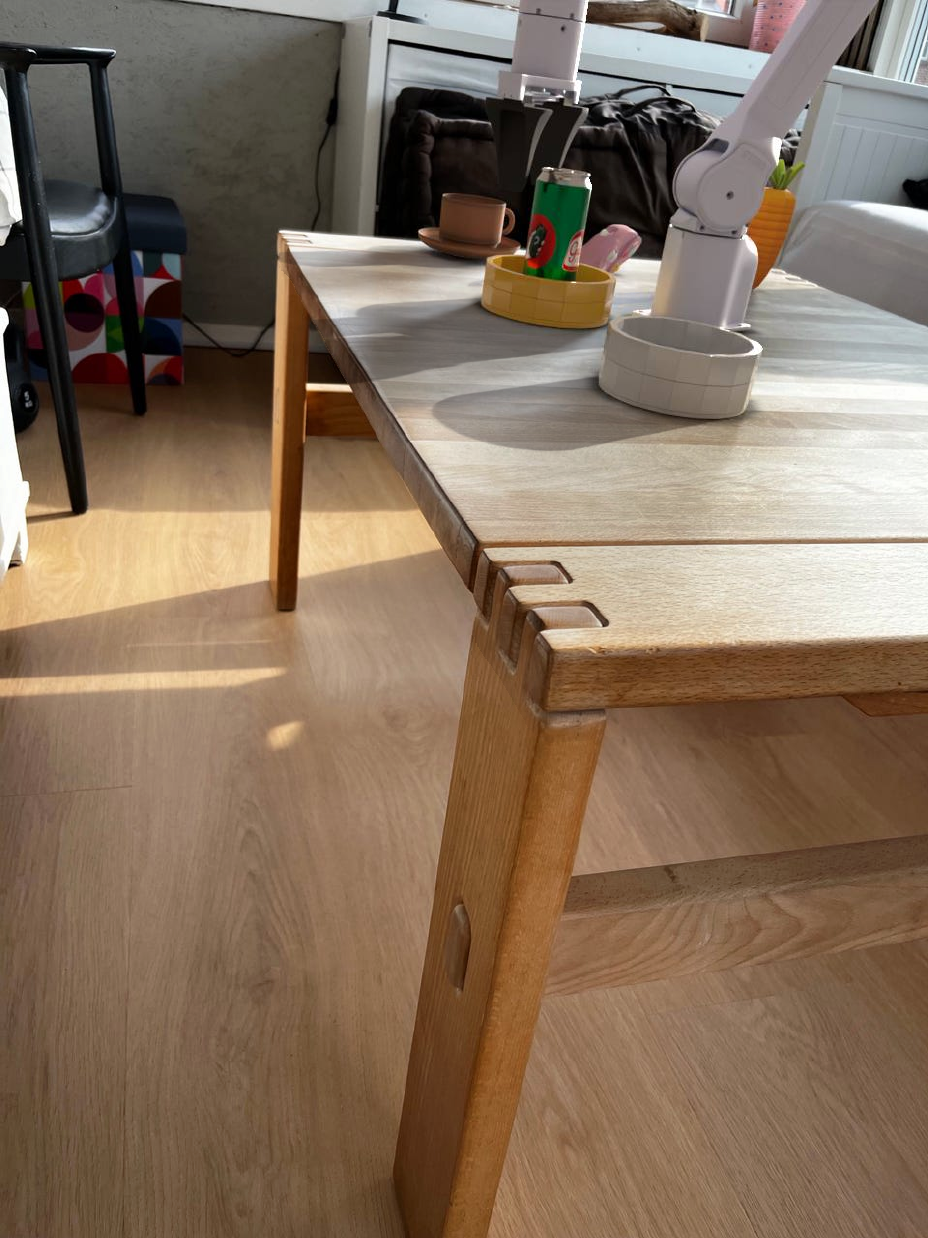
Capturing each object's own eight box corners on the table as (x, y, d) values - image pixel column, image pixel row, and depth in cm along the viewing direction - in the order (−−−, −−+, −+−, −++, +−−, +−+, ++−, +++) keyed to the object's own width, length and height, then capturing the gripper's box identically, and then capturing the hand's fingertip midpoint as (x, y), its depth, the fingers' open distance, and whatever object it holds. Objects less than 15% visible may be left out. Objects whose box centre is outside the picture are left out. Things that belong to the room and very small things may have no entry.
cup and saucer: (456, 241, 127) (462, 188, 124) (537, 261, 122) (545, 206, 119) (395, 247, 118) (400, 190, 115) (479, 269, 113) (487, 210, 110)
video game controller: (584, 294, 116) (620, 241, 111) (555, 268, 116) (590, 215, 112) (619, 285, 123) (655, 236, 119) (592, 260, 124) (626, 211, 120)
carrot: (778, 291, 125) (813, 157, 118) (765, 295, 121) (801, 157, 114) (739, 282, 127) (771, 151, 120) (726, 286, 123) (758, 150, 116)
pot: (658, 366, 85) (670, 311, 82) (774, 408, 78) (790, 349, 76) (568, 380, 77) (578, 320, 75) (686, 426, 71) (702, 362, 69)
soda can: (567, 315, 95) (591, 176, 89) (514, 306, 96) (534, 167, 90) (573, 305, 100) (596, 172, 94) (522, 296, 100) (542, 164, 94)
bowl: (542, 293, 105) (548, 253, 104) (633, 323, 98) (641, 280, 96) (454, 299, 98) (460, 255, 96) (546, 332, 90) (554, 286, 88)
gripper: (539, 20, 95) (517, 177, 101) (473, 4, 83) (453, 184, 89) (611, 29, 92) (584, 190, 99) (554, 14, 81) (527, 198, 87)
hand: (526, 188), depth 94 cm, fingers open, 7 cm apart
